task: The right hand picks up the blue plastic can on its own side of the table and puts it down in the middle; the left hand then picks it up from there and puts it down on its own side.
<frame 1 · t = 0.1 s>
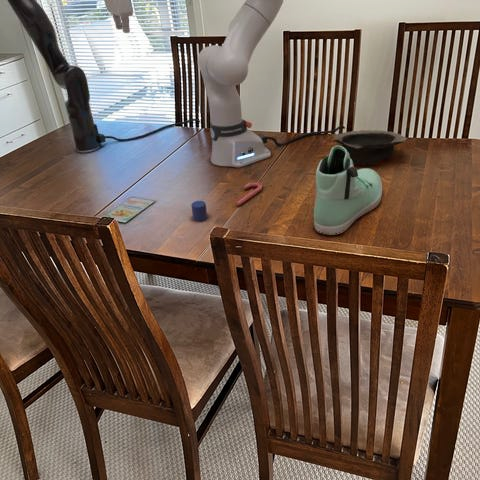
right hand: (123, 30, 143), 48 cm above the table, tool pointing down, fingers open, 8 cm apart
sneaker: (348, 208, 139), on the table
stone bowl: (367, 156, 171), on the table
candy cane: (247, 196, 151), on the table
can: (200, 217, 141), on the table
baking ingredient package: (129, 210, 148), on the table
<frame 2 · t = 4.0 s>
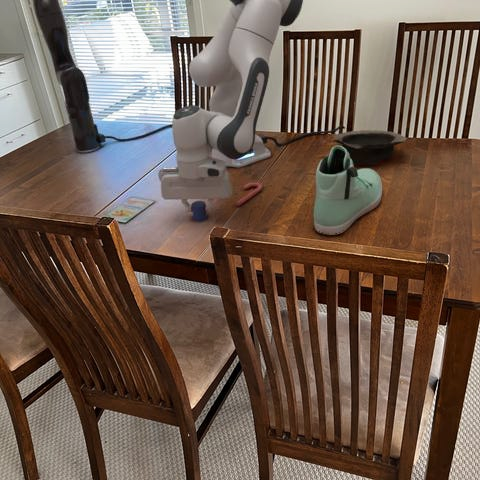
right hand: (199, 211, 139), 2 cm above the table, tool pointing down, fingers closed on can, 4 cm apart
can: (200, 217, 141), on the table, touching right hand
everything else where it was.
when the right hand's fingers open (3 cm above the table, at t = 11.1 s): can stays where it is, on the table.
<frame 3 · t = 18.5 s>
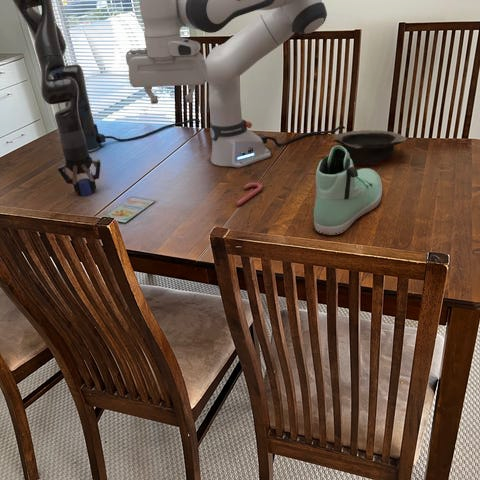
left hand: (86, 191, 161), 0 cm above the table, tool pointing down, fingers closed on can, 4 cm apart
right hand: (172, 102, 127), 33 cm above the table, tool pointing down, fingers open, 8 cm apart
can: (86, 193, 161), on the table, touching left hand
everything else where it was.
when the left hand's fingers open (1 cm above the table, at t = 22.4 s): can stays where it is, on the table.
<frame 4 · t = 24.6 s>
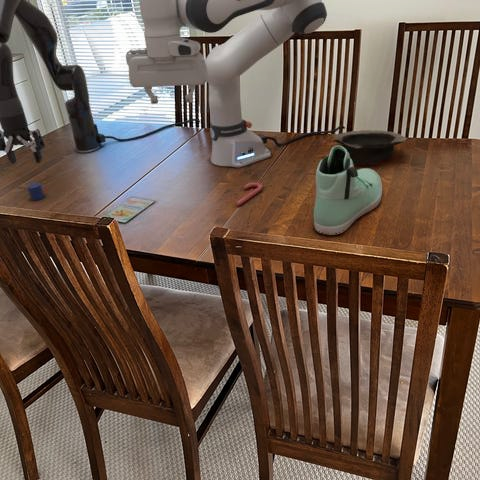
left hand: (26, 162, 154), 13 cm above the table, tool pointing down, fingers open, 8 cm apart
right hand: (172, 102, 127), 33 cm above the table, tool pointing down, fingers open, 8 cm apart
can: (37, 197, 160), on the table
everything else where it was.
at the end: can inside the target area (0.0 cm from its centre), on the table; can tilted 0°; the two hands never held the can at the same time; the left hand is holding nothing; the right hand is holding nothing; can at rest at the end (0.0 cm/s) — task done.
